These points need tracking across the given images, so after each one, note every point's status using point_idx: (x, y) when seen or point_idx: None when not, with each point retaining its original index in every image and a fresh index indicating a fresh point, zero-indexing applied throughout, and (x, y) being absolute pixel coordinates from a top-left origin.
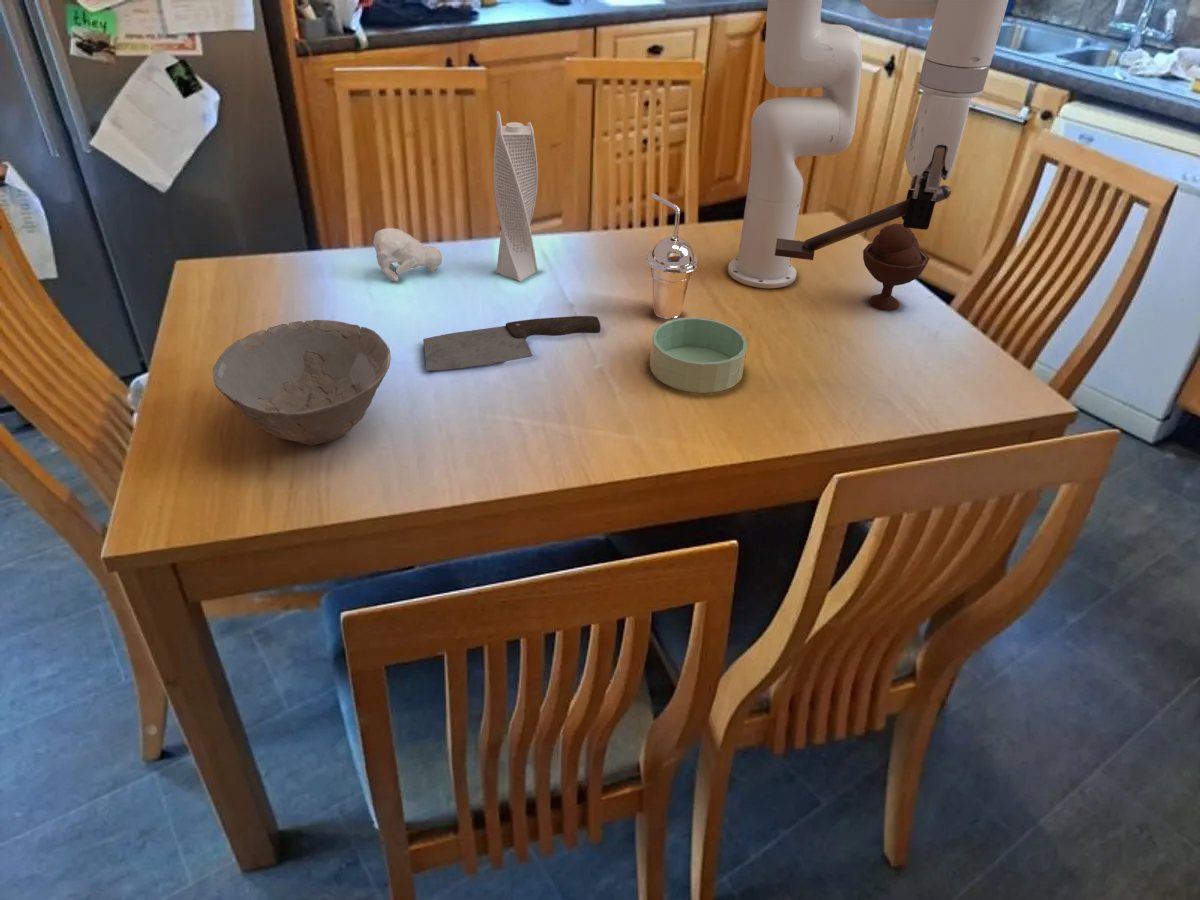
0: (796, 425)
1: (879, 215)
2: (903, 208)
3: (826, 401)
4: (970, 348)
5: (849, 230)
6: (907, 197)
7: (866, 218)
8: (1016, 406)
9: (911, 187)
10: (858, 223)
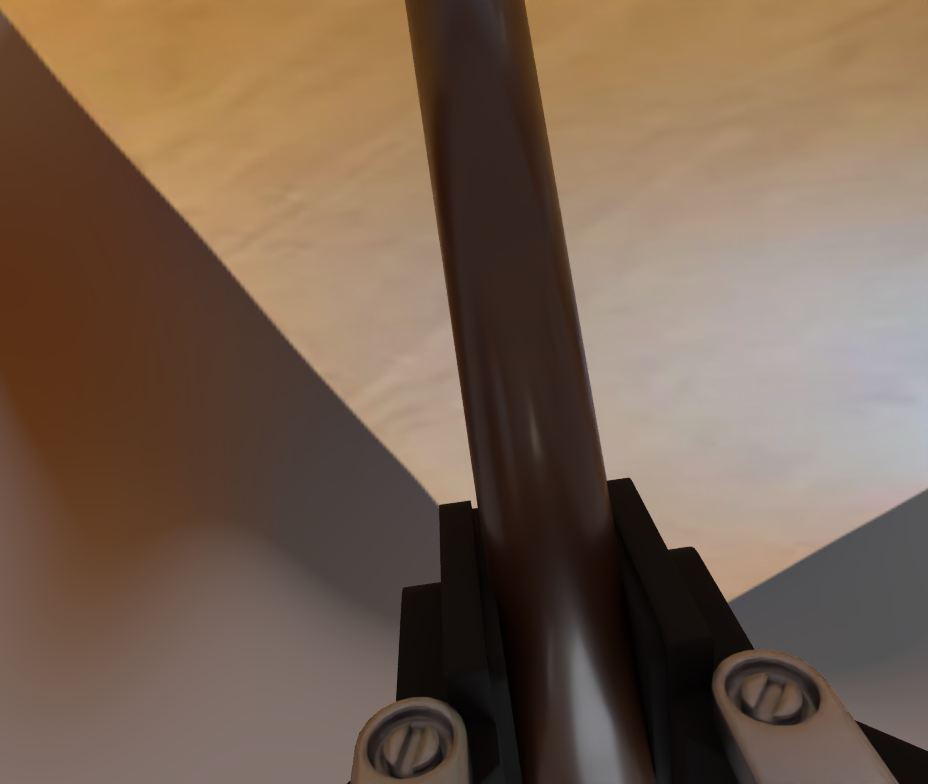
0: (201, 59)
1: (466, 321)
2: (487, 548)
3: (381, 130)
4: (833, 485)
5: (417, 59)
6: (645, 596)
7: (465, 198)
8: None
9: (716, 679)
10: (440, 129)
